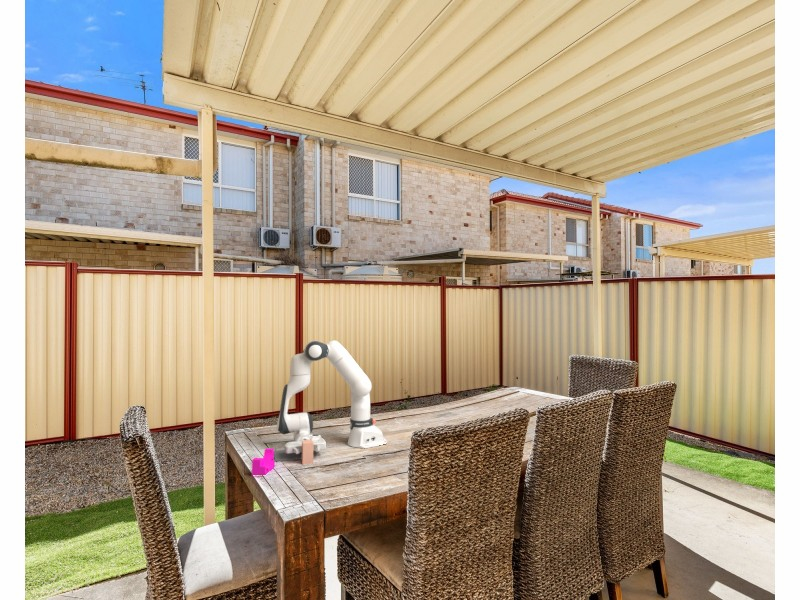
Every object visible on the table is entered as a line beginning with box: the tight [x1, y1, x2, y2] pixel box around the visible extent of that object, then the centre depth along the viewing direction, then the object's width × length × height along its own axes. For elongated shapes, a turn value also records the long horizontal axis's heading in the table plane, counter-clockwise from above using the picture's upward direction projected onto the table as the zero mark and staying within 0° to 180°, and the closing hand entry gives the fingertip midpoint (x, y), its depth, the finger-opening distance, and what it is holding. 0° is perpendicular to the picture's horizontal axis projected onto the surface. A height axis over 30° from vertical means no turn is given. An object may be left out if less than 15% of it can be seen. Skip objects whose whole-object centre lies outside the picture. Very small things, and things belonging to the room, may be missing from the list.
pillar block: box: [300, 440, 314, 465], centre depth 196 cm, size 5×5×10 cm
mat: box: [274, 449, 302, 462], centre depth 204 cm, size 14×14×1 cm
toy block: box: [251, 447, 276, 477], centre depth 185 cm, size 15×6×8 cm, turn 175°
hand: (307, 451), depth 195 cm, fingers open, 8 cm apart
